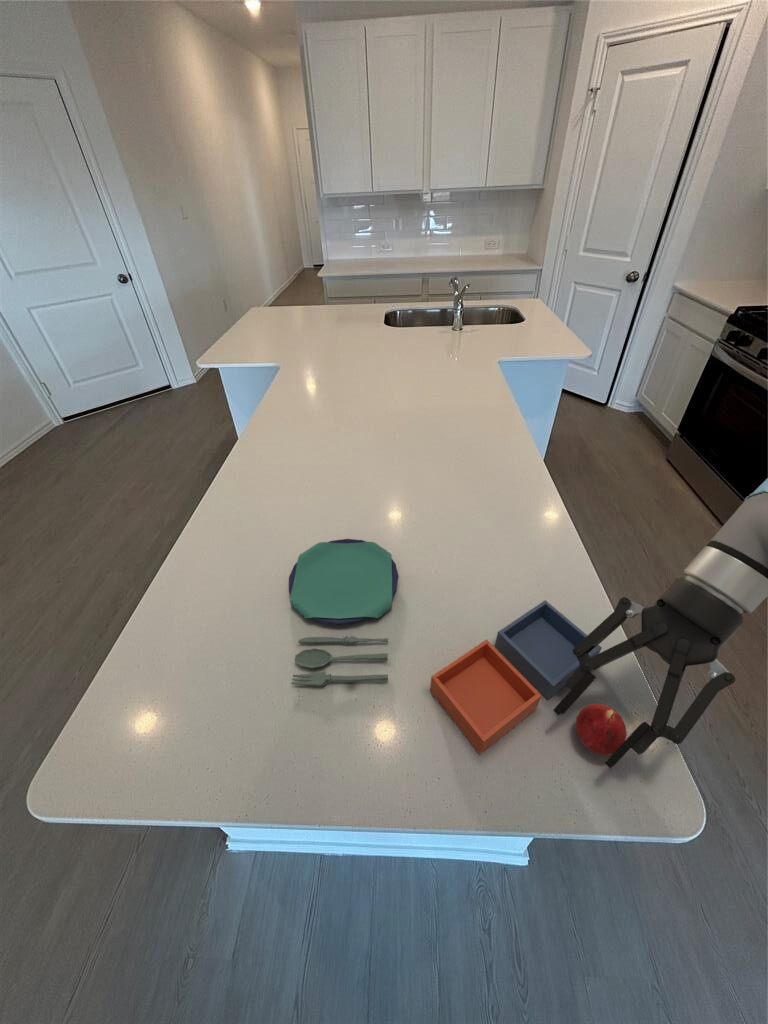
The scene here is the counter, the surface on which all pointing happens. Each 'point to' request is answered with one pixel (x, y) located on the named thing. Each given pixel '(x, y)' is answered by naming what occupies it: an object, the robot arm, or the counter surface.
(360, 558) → the cutlery set
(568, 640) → the blue bin
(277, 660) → the counter surface
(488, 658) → the terracotta bin
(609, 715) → the red rounded oval piece
